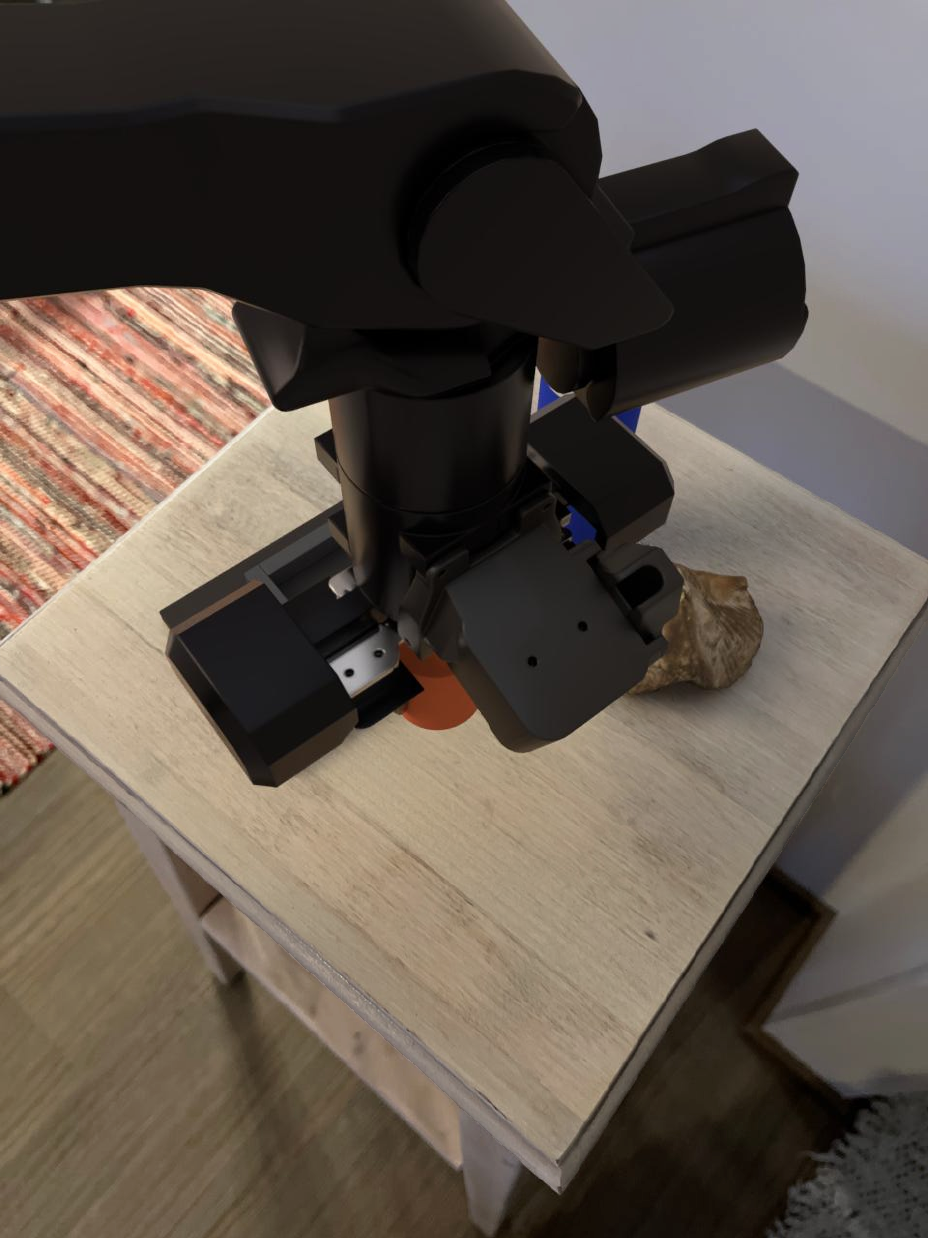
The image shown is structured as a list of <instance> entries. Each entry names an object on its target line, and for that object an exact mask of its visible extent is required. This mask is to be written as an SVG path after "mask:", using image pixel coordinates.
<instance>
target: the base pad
mask: <svg viewBox="0 0 928 1238" xmlns="http://www.w3.org/2000/svg"><path fill="white" fill-rule="evenodd" d="M343 508H344V504H343V499H341V500H340V501H338V502H337V503H335V504H333V505H331V506H330V507H328V508H327V509H326V510H323V511H322V512H320V513H319V514H316V515H315V516H313V517H312V518H310V519H308V520H307V521H305V522H304V523H302V524H301V525H299V526H297V527H295V528H293V529H292V530H291V531H289V532H287V533H285V534H283V536H280V537H279V538H277V539H276V540H274V541H272V542H271V543H269V544H268V545H267V544H266V546H264V547H263V548H261V549H259V550H258V551H256V552H254V553H253V554H251V555H249V556H248V557H246V558H245V559H243V560H241V561H239V562H238V563H236V564H235V565H232V566H231V567H230V568H228V569H226V570H225V571H223V572H221V573H220V574H218V575H216V576H215V577H213V578H212V579H210V580H208V581H206V582H205V583H203V584H202V585H200V586H198V587H196V588H195V589H193V590H192V591H190V592H188V593H187V594H185V595H183V596H182V597H180V598H178V599H177V600H175V601H174V602H172V603H170V604H169V605H167V606H165V607H164V608H162V609H160V610H159V611H158V614H159V615H160V617H161V619H162V621H163V622H164V624H165V625H166V627H167V628H168V629H169V630H171V629H172V628H174V627H176V626H177V625H179V624H181V623H182V622H184V621H186V620H187V619H189V618H191V617H192V616H194V615H196V614H197V613H199V612H201V611H203V610H204V609H206V608H208V607H209V606H211V605H213V604H214V603H216V602H218V601H219V600H221V599H223V598H224V597H226V596H228V595H229V594H231V593H233V592H234V591H236V590H238V589H239V588H241V587H243V586H244V585H246V584H248V583H249V582H251V581H253V580H257V581H260V582H263V583H265V584H266V586H267V587H268V588H269V589H270V591H271V592H272V593H273V594H274V596H275V597H276V598H277V599H278V601H279V602H280V603H281V604H284V603H285V602H287V601H288V600H290V599H292V598H293V597H295V596H297V595H298V594H300V593H301V592H303V591H305V590H306V589H308V588H310V587H311V586H313V585H315V584H316V583H318V582H319V581H321V580H323V579H324V578H326V577H328V576H330V577H331V578H332V577H334V576H335V575H337V574H338V573H340V572H342V571H343V570H345V569H347V568H348V567H350V566H351V565H352V559H351V558H350V556H349V555H348V554H347V553H346V552H345V551H344V550H343V548H342V547H341V546H340V545H339V544H338V543H337V541H336V540H335V539H334V538H333V537H332V536H331V534H330V528H329V522H328V517H330V516H331V515H333V514H335V513H337V512H338V511H340V510H342V509H343ZM386 626H388V623H387V624H386Z"/></svg>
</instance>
